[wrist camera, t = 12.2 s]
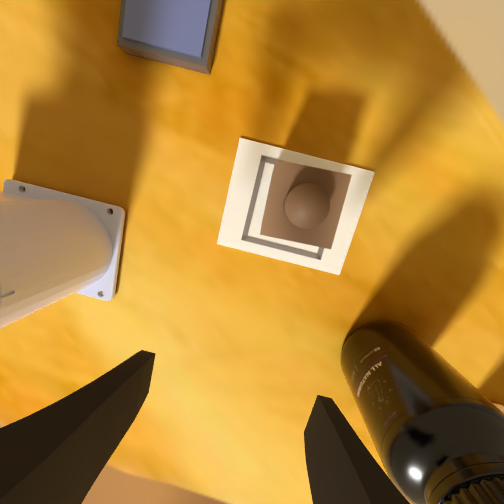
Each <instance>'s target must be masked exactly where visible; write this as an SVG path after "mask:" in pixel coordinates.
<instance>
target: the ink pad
mask: <svg viewBox="0 0 504 504" xmlns="http://www.w3.org/2000/svg"><path fill="white" fill-rule="evenodd" d="M222 5H223V0H122V3H121V12H120V22H119V32H118V41H117V44H118V45H119V46H120V48H121V49H122V50H123V51H124V52H125V53H127V54H130V55H134V56H138V57H142V58H146V59H150V60H154V61H158V62H162V63H166V64H170V65H174V66H178V67H182V68H186V69H190V70H194V71H198V72H202V73H206V74H210V71H211V66H212V60H213V55H214V49H215V44H216V38H217V33H218V27H219V22H220V16H221V11H222Z"/></svg>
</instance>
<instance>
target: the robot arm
mask: <svg viewBox="0 0 504 504" xmlns="http://www.w3.org/2000/svg"><path fill="white" fill-rule="evenodd" d="M24 188H25V191H24ZM110 209H112V210H113V214H111V213H110ZM124 220H125V211H124V209H123V208H122V207H119V206H116V205H112V204H108V203H104V202H100V201H96V200H92V199H88V198H84V197H80V196H76V195H72V194H68V193H64V192H60V191H56V190H53V189H49V188H45V187H41V186H37V185H33V184H29V183H25V182H21V181H17V180H11V179H7V180H5V182H4V191H3V192H0V329H1V328H3V327H5V326H7V325H9V324H11V323H13V322H15V321H17V320H20V319H22V318H24V317H26V316H28V315H30V314H32V313H34V312H36V311H38V310H40V309H42V308H44V307H46V306H49V305H51V304H53V303H55V302H57V301H59V300H61V299H63V298H65V297H67V296H69V295H71V294H73V293H78V294H82V295H85V296H89V297H93V298H97V299H101V300H105V301H110V300H112V299H113V298H114V296H115V290H116V283H117V275H118V267H119V259H120V251H121V243H122V235H123V227H124ZM101 291H102V292H103V293H104V295H102V294H101ZM154 359H155V353H151V352H147V351H143V350H141V351H139V352H138V353H136V354H135V355H133V356H132V357H130V358H129V359H127V360H126V361H124V362H123V363H121V364H120V365H118V366H116V367H115V368H113V369H112V370H110V371H109V372H107V373H105V374H104V375H102V376H101V377H99V378H97V379H96V380H94V381H93V382H91V383H89V384H87V385H86V386H84V387H82V388H80V389H79V390H77V391H75V392H73V393H72V394H70V395H68V396H66V397H65V398H63V399H61V400H59V401H57V402H55V403H53V404H51V405H49V406H47V407H46V408H43V409H41V410H39V411H37V412H35V413H33V414H31V415H29V416H27V417H25V418H23V419H20V420H18V421H16V422H14V423H11V424H9V425H7V426H4V427H2V428H0V504H81V503H82V502H83V500H84V498H85V496H86V495H87V493H88V491H89V490H90V488H91V486H92V485H93V483H94V482H95V480H96V478H97V477H98V475H99V474H100V472H101V471H102V469H103V468H104V466H105V465H106V463H107V461H108V460H109V458H110V457H111V455H112V454H113V452H114V451H115V449H116V448H117V446H118V445H119V443H120V441H121V440H122V438H123V437H124V435H125V434H126V432H127V431H128V429H129V427H130V426H131V424H132V423H133V421H134V420H135V418H136V416H137V414H138V412H139V410H140V408H141V407H142V405H143V403H144V401H145V399H146V397H147V395H148V393H149V387H150V381H151V376H152V370H153V365H154ZM304 441H305V455H306V465H307V471H308V477H309V483H310V488H311V494H312V500H313V504H410V503H409V502H408V501H407V500H406V498H405V497H404V496H403V495H402V494H401V492H400V491H399V490H398V489H397V488H396V486H395V485H394V484H393V483H392V481H391V480H390V479H389V477H388V476H387V475H386V474H385V472H384V471H383V470H382V468H381V467H380V466H379V465H378V463H377V462H376V461H375V459H374V458H373V457H372V455H371V454H370V452H369V451H368V450H367V448H366V447H365V446H364V444H363V443H362V441H361V440H360V439H359V437H358V436H357V434H356V433H355V431H354V430H353V429H352V427H351V426H350V424H349V423H348V421H347V420H346V418H345V417H344V415H343V414H342V413H341V411H340V410H339V408H338V407H337V405H336V404H335V403H334V401H333V400H332V398H328V397H324V396H320V395H318V396H317V398H316V401H315V404H314V407H313V409H312V412H311V415H310V417H309V420H308V423H307V426H306V428H305V431H304Z"/></svg>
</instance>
